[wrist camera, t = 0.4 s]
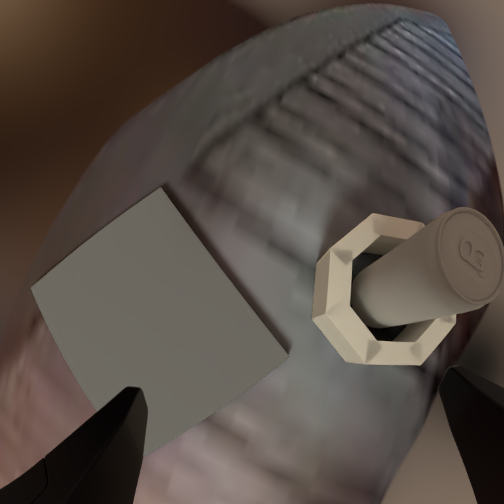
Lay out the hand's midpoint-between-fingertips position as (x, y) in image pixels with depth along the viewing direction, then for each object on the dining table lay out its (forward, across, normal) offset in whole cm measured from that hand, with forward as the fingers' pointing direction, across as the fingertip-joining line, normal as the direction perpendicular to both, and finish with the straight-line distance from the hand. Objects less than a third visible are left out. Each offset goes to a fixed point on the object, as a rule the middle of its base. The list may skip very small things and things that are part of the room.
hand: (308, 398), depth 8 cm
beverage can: (+14, -8, +5) cm, 17 cm away
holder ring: (+14, -8, +5) cm, 17 cm away
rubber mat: (+13, +9, +6) cm, 17 cm away
